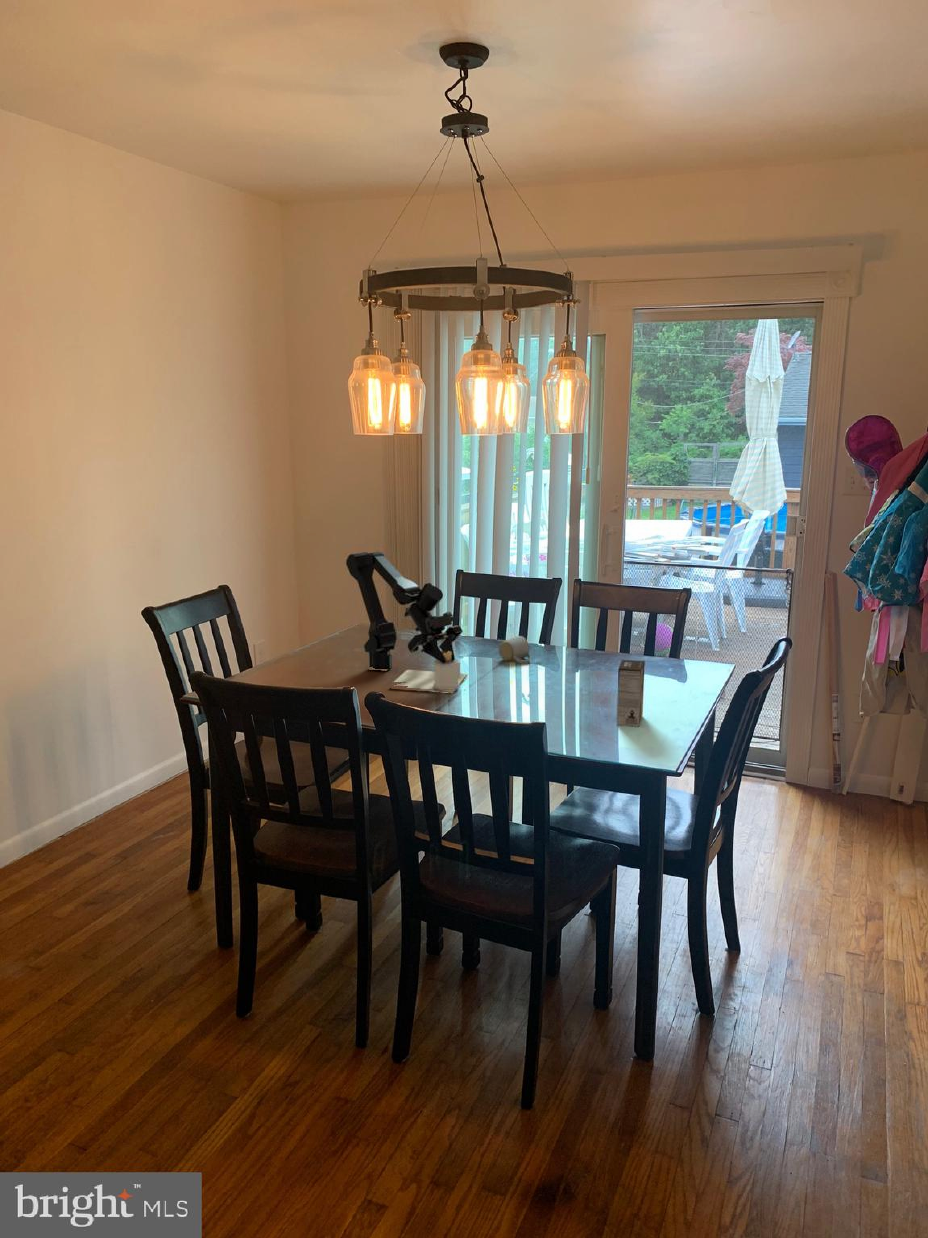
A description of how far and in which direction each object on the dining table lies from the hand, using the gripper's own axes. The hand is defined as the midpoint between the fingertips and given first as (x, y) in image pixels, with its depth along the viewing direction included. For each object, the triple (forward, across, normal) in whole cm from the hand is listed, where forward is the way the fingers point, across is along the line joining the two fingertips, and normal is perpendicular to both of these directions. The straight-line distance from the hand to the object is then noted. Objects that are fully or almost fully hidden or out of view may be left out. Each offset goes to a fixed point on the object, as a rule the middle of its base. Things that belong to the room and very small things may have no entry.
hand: (449, 661), depth 268 cm
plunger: (+4, 0, +6) cm, 7 cm away
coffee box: (+45, +15, -32) cm, 57 cm away
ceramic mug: (+2, +39, +12) cm, 41 cm away
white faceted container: (+5, +1, +7) cm, 8 cm away
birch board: (-1, +1, +14) cm, 14 cm away
